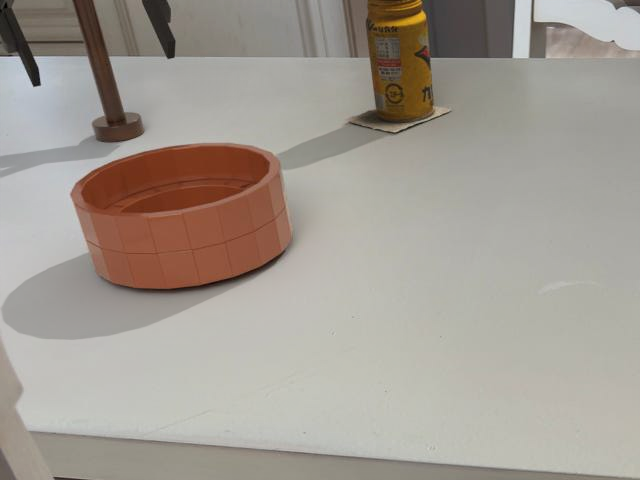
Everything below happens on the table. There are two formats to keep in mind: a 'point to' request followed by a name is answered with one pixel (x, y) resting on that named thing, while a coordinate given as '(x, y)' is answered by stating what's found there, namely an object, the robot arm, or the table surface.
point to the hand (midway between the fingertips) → (105, 64)
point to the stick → (104, 80)
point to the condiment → (398, 66)
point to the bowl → (183, 214)
